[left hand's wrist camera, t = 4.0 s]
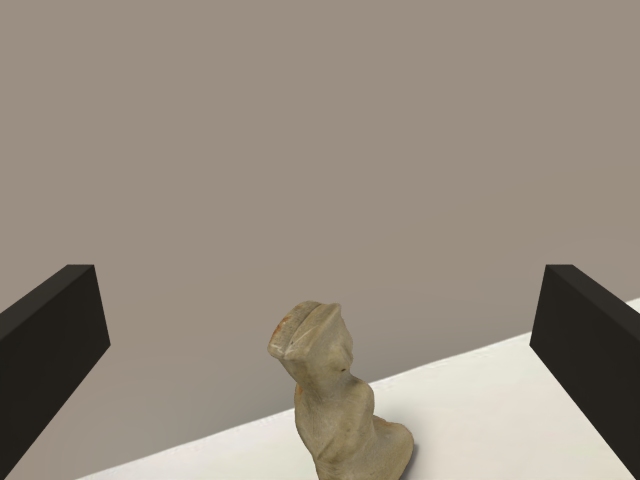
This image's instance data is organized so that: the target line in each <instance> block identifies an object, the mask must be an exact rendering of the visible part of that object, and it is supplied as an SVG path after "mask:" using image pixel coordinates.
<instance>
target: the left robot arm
mask: <svg viewBox="0 0 640 480" xmlns="http://www.w3.org/2000/svg"><path fill="white" fill-rule="evenodd" d="M529 345H530V347H531V348H532V349H533V350H534V352H535V353H536V354H537V355H538V357H539V358H540V359H541V360H542V362H543V363H544V364H545V365H546V367H547V368H548V369H549V371H550V372H551V373H552V374H553V376H554V377H555V378H556V379H557V381H558V382H559V383H560V384H561V386H562V387H563V388H564V389H565V391H566V392H567V393H568V395H569V396H570V397H571V398H572V400H573V401H574V402H575V403H576V405H577V406H578V407H579V408H580V410H581V411H582V412H583V413H584V415H585V416H586V417H587V419H588V420H589V421H590V422H591V424H592V425H593V426H594V427H595V429H596V430H597V431H598V432H599V434H600V435H601V436H602V437H603V439H604V440H605V441H606V443H607V444H608V445H609V446H610V448H611V449H612V450H613V451H614V453H615V454H616V455H617V456H618V458H619V459H620V460H621V461H622V463H623V464H624V465H625V466H626V468H627V469H628V470H629V472H630V473H631V474H632V475H633V477H634V478H635V479H636V480H640V314H639V313H638V312H637V311H635V310H634V309H633V308H631V307H630V306H629V305H627V304H626V303H624V302H623V301H622V300H620V299H619V298H617V297H616V296H615V295H613V294H612V293H611V292H609V291H608V290H607V289H605V288H604V287H602V286H601V285H600V284H598V283H597V282H596V281H594V280H593V279H591V278H590V277H589V276H587V275H586V274H585V273H583V272H582V271H580V270H579V269H578V268H576V267H575V266H574V265H546V267H545V272H544V277H543V282H542V287H541V291H540V296H539V301H538V306H537V311H536V315H535V320H534V325H533V330H532V335H531V340H530V344H529ZM109 347H110V340H109V335H108V330H107V325H106V320H105V315H104V311H103V306H102V301H101V296H100V291H99V287H98V282H97V277H96V272H95V267H94V265H66V266H65V267H64V268H62V269H61V270H60V271H58V272H57V273H55V274H54V275H53V276H51V277H50V278H49V279H47V280H46V281H44V282H43V283H42V284H40V285H39V286H38V287H36V288H35V289H33V290H32V291H31V292H29V293H28V294H27V295H25V296H24V297H22V298H21V299H20V300H18V301H17V302H16V303H14V304H13V305H12V306H10V307H9V308H7V309H6V310H5V311H3V312H2V313H1V314H0V480H4V479H5V478H6V477H7V475H8V474H9V473H10V472H11V470H12V469H13V468H14V466H15V465H16V464H17V463H18V461H19V460H20V459H21V458H22V456H23V455H24V454H25V453H26V451H27V450H28V449H29V447H30V446H31V445H32V444H33V442H34V441H35V440H36V439H37V437H38V436H39V435H40V434H41V432H42V431H43V430H44V429H45V427H46V426H47V425H48V424H49V422H50V421H51V420H52V418H53V417H54V416H55V415H56V413H57V412H58V411H59V410H60V408H61V407H62V406H63V405H64V403H65V402H66V401H67V400H68V398H69V397H70V396H71V394H72V393H73V392H74V391H75V389H76V388H77V387H78V386H79V384H80V383H81V382H82V381H83V379H84V378H85V377H86V376H87V374H88V373H89V372H90V371H91V369H92V368H93V367H94V365H95V364H96V363H97V362H98V360H99V359H100V358H101V357H102V355H103V354H104V353H105V352H106V350H107V349H108V348H109Z"/></svg>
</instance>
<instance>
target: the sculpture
mask: <svg viewBox="0 0 640 480" xmlns="http://www.w3.org/2000/svg"><path fill="white" fill-rule="evenodd" d="M352 346H353V341H352V337H351V335H350V333H349V332H348V330H347V328H346V326H345V323H344V320H343V318H342V317H341V305H340V304H339V303H332V304H322V303H319V302H315V301H306V302H303V303H301V304H299V305H297V306H296V307H295V308H293V309H292V310H291V311H290V312H289V313H288V314H287V315H286V316H285V317H284V318H283V320H282V321H281V322H280V323H279V325H278V326H277V327H276V329H275V331H274V333H273V335H272V337H271V340H270V342H269V345H268V352H269V354H270V355H271V356H273V357H275V358H277V359H278V360H279V361H280V362H281V363H282V365H283V366H284V367H285V369H286V370H287V372H288V373H289V374H290V375H291V376H292V377H293V379H294V380H295V381H296V382H297V384H296V390H295V397H294V401H295V423H296V428H297V431H298V433H299V435H300V437H301V439H302V441H303V443H304V444H305V446H306V447H307V449H308V450H309V452H310V453H311V455H312V457H313V461H314V463H315V466H316V472H317V475H318V478H319V480H399V478H400V476H401V475H402V473H403V472H404V470H405V468H406V465H407V464H408V462H409V460H410V458H411V455H412V452H413V443H414V440H413V436H412V433H411V432H410V431H409V430H408V429H407V428H406V427H405V426H404V425H402V424H398V423H391V422H386V421H385V420H384V419H382V418H380V417H378V416H375V415H373V412H374V393H373V390H372V388H371V387H370V386H369V385H368V384H367V383H366V382H364V381H362V380H360V379H358V378H356V377H354V376H353V375H351V374H350V372H349V370H350V366H351V364H352V362H353V355H352Z"/></svg>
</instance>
